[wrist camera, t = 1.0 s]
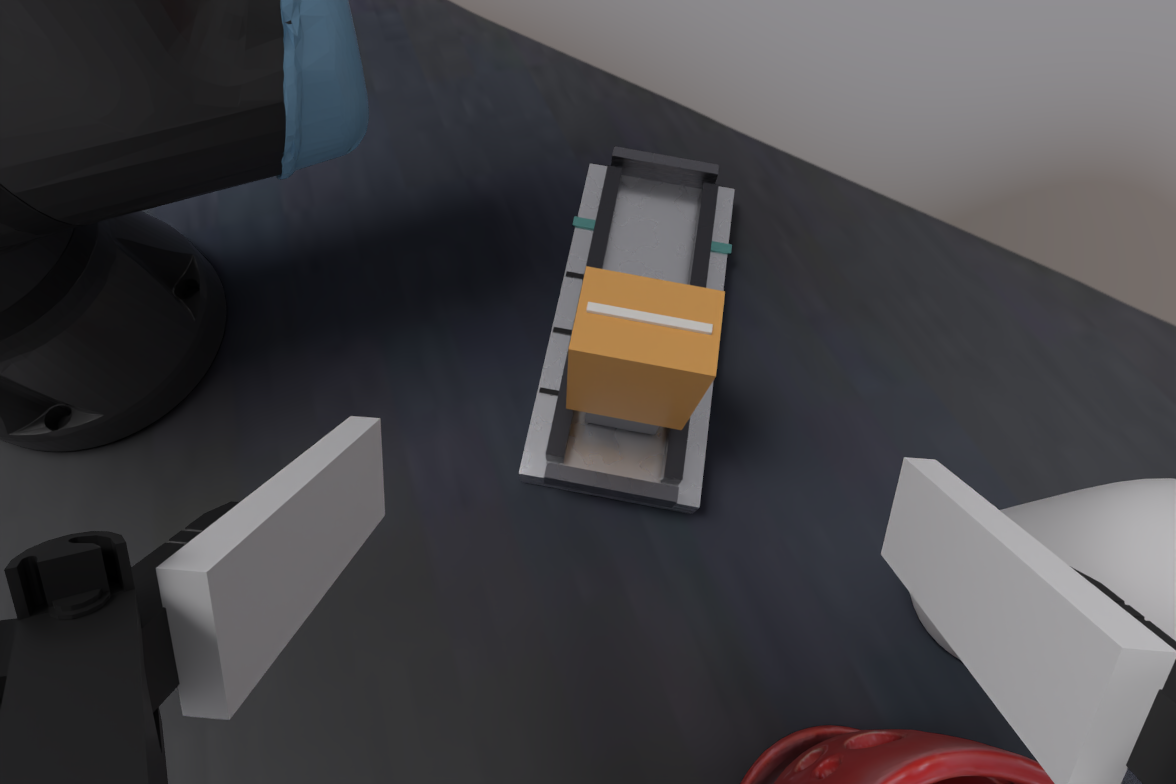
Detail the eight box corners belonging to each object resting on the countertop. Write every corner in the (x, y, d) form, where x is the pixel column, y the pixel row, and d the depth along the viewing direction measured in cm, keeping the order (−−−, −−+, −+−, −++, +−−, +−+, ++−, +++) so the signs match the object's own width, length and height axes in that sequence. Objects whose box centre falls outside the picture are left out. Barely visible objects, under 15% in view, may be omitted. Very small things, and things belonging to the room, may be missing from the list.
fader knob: (671, 446, 33) (717, 374, 23) (565, 427, 33) (568, 346, 24) (679, 381, 34) (726, 288, 25) (578, 363, 34) (586, 263, 25)
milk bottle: (882, 537, 34) (1275, 429, 15) (1003, 512, 35) (1514, 382, 16) (935, 683, 31) (1491, 767, 13) (1065, 653, 32) (1764, 690, 14)
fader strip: (694, 519, 34) (709, 508, 30) (516, 486, 34) (511, 470, 31) (729, 205, 42) (744, 169, 39) (586, 179, 42) (589, 141, 39)
